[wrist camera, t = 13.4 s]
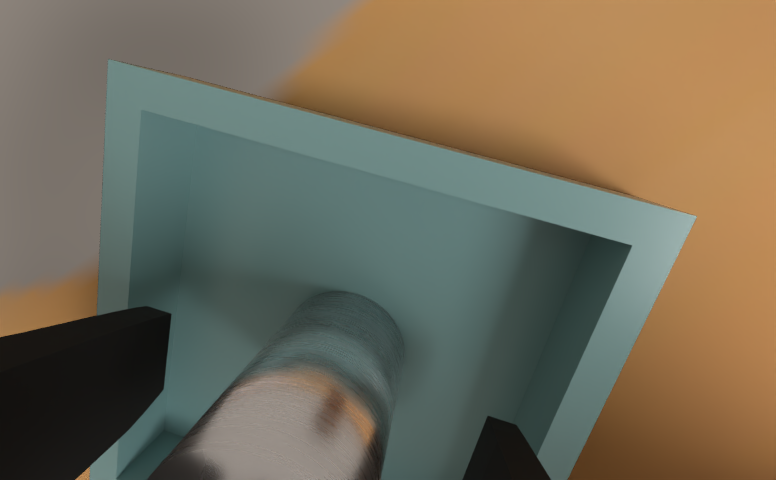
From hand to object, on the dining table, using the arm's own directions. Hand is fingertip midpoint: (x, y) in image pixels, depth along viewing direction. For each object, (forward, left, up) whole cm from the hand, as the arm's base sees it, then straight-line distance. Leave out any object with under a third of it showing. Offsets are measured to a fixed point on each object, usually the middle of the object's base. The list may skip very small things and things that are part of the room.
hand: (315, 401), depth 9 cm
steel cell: (0, 0, -2) cm, 2 cm away
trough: (0, 0, -3) cm, 3 cm away
